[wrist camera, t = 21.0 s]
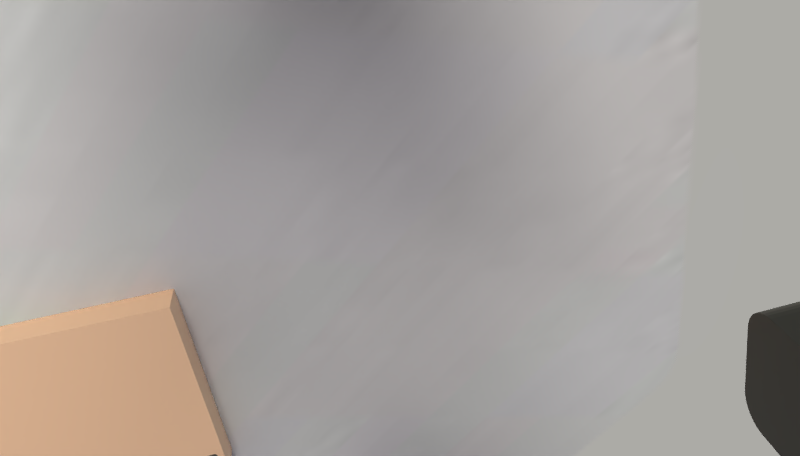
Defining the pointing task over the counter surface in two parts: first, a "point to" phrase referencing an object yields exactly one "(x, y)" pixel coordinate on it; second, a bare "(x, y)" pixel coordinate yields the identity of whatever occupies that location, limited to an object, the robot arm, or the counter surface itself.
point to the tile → (107, 384)
